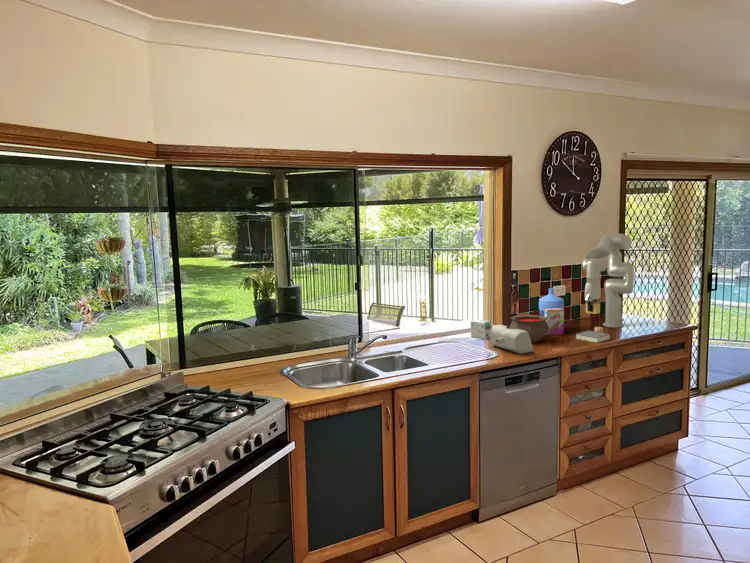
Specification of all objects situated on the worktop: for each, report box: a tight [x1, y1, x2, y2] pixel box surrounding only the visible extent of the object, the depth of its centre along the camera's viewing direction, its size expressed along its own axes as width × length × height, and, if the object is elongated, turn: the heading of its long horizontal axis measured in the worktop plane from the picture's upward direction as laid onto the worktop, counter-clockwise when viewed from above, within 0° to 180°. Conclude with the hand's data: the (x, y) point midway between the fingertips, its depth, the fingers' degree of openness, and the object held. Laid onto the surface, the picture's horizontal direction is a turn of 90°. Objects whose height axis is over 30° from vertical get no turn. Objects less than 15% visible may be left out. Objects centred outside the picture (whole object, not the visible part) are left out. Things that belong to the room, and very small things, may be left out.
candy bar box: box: [545, 308, 565, 336], centre depth 336 cm, size 11×5×16 cm, turn 88°
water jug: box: [538, 287, 565, 317], centre depth 346 cm, size 16×16×28 cm
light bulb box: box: [470, 319, 491, 340], centre depth 336 cm, size 11×7×11 cm, turn 47°
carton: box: [585, 300, 601, 315], centre depth 319 cm, size 5×7×7 cm
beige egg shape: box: [593, 326, 604, 333], centre depth 329 cm, size 5×5×5 cm
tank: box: [489, 324, 534, 355], centre depth 304 cm, size 25×16×12 cm, turn 26°
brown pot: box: [508, 311, 549, 343], centre depth 325 cm, size 24×24×16 cm
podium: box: [575, 330, 611, 343], centre depth 321 cm, size 13×14×3 cm
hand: (592, 310), depth 319 cm, fingers closed on carton, 4 cm apart
